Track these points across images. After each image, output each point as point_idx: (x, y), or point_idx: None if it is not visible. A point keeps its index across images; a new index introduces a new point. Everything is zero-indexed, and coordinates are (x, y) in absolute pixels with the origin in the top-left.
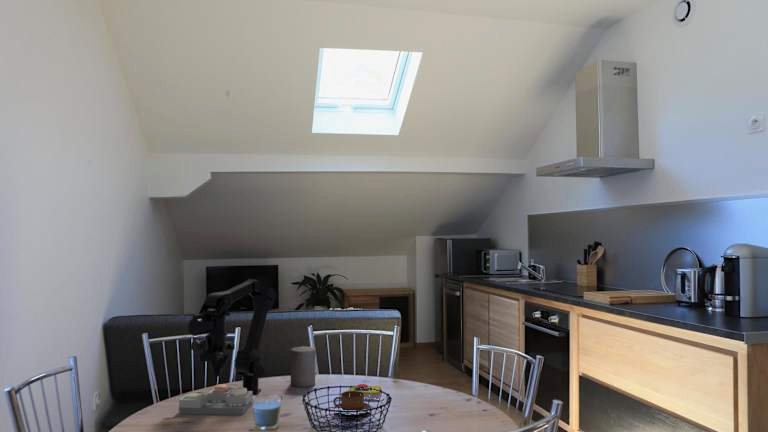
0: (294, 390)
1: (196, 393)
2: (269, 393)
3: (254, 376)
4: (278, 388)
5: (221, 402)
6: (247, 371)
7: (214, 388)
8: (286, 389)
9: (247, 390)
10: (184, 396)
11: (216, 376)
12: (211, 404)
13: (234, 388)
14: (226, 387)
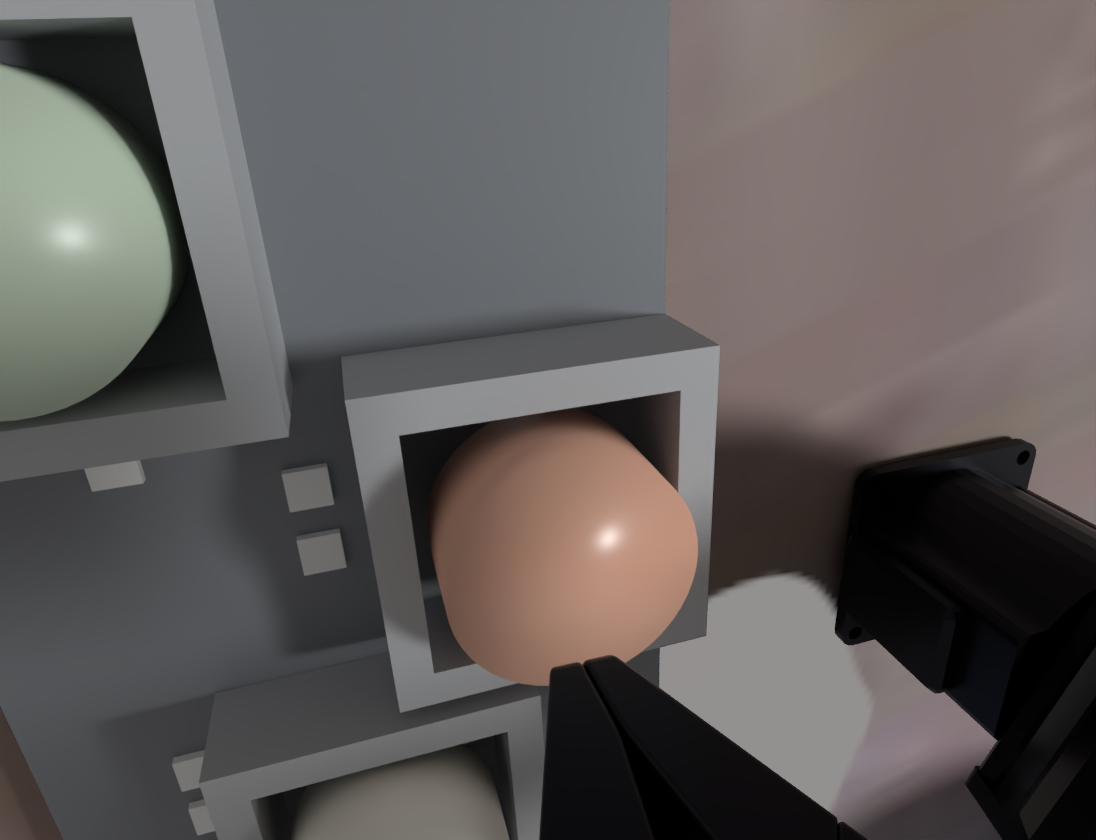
0: (938, 823)
1: (142, 233)
2: (878, 704)
3: (979, 797)
4: None
5: (288, 600)
6: (1044, 807)
7: (494, 478)
8: (976, 761)
9: (863, 592)
10: None
11: (551, 681)
12: (142, 521)
13: (445, 834)
14: (520, 676)
